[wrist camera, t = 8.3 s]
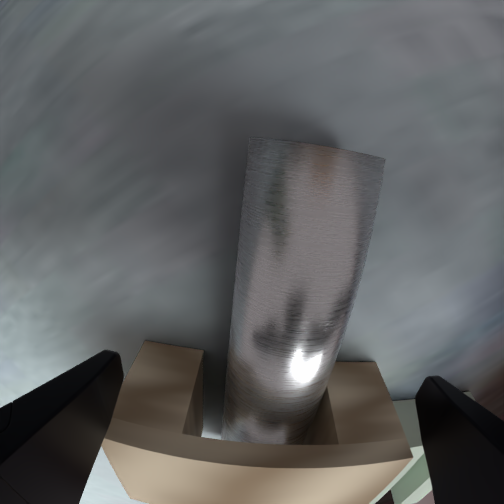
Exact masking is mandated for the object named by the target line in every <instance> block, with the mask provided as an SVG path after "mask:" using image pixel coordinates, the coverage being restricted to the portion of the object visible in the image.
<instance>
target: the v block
mask: <svg viewBox="0 0 504 504" xmlns="http://www.w3.org/2000/svg"><path fill="white" fill-rule="evenodd" d="M463 393H464V394H466V395H467V396H469V397H470V398H471V399H473V400H474V398H473V396H472V395H471V393H470V392H463ZM474 401H475V400H474ZM392 402H393V405H394V407H395V410H396V412H397V415H398V417H399V420H400V422H401V425H402V428H403V430H404V433H405V436H406V438H407V441H408V444H409V446H410V449H411V452H412V455H413V459H412V460H411V461H410V462H409V463H408V464H407V465H406V467H405V468H404V469H403V470H402V471H401V472H400V473H399V474H398V475H397V476H396V477H395V478H394V479H393V481H392V482H391V483H390V484H389V485H388V486H387V487H386V488H385V489H384V490H383V491H382V492H381V493H380V494H379V495H377V496H376V497H375V498H374V499H373V500H372V501H371V502H370V503H369V504H375V503H376V502H377V501H378V500H379V499H380V498H381V497H382V496H383V495H385V494H386V493H387V492H388V491H389V490H390V489H391V492H392V496H393V500H394V504H413V503H416V502H418V501H419V500H421V499H422V498H423V497H424V496H425V495H427V494H428V493H429V492H430V491H431V490H432V485H431V480H430V476H429V471H428V466H427V462H426V458H425V454H424V450H423V445H422V441H421V435H420V428H419V422H418V415H417V410H416V404H415V399H411V400H399V401H392Z"/></svg>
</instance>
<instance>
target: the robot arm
mask: <svg viewBox="0 0 504 504" xmlns="http://www.w3.org/2000/svg"><path fill="white" fill-rule="evenodd" d="M123 377H124V374H123V368H122V363H121V358H120V355H119V353H117V352H114V351H110V350H104V351H102V352H100V353H98V354H96V355H95V356H93V357H91V358H89V359H88V360H86V361H84V362H82V363H80V364H79V365H77V366H75V367H73V368H72V369H70V370H68V371H66V372H64V373H63V374H61V375H59V376H57V377H56V378H54V379H52V380H50V381H48V382H47V383H45V384H43V385H41V386H39V387H38V388H36V389H34V390H32V391H30V392H29V393H27V394H25V395H23V396H21V397H19V398H18V399H16V400H14V401H13V403H12V402H10V403H8V404H7V405H5V406H3V407H1V408H0V504H79V502H80V499H81V496H82V493H83V491H84V488H85V485H86V483H87V480H88V478H89V475H90V472H91V470H92V467H93V465H94V462H95V460H96V457H97V455H98V452H99V450H100V447H101V445H102V442H103V440H104V438H105V435H106V433H107V430H108V428H109V425H110V423H111V419H112V416H113V413H114V409H115V406H116V402H117V399H118V396H119V392H120V389H121V386H122V382H123ZM415 404H416V410H417V415H418V422H419V428H420V435H421V441H422V445H423V450H424V454H425V458H426V462H427V466H428V471H429V476H430V480H431V485H432V490H433V495H434V500H435V504H504V421H503V420H501V419H500V418H498V417H497V416H495V415H494V414H493V413H491V412H490V411H488V410H487V409H486V408H484V407H483V406H481V405H480V404H478V403H477V402H476V401H474V400H473V399H471V398H470V397H469V396H467V395H466V394H464V393H463V392H461V391H460V390H459V389H457V388H456V387H454V386H453V385H451V384H450V383H449V382H447V381H446V380H444V379H443V378H441V377H440V376H428V377H427V378H425V380H424V382H423V383H422V385H421V387H420V389H419V391H418V392H417V394H416V397H415Z"/></svg>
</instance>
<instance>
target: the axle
mask: <svg viewBox="0 0 504 504" xmlns="http://www.w3.org/2000/svg"><path fill="white" fill-rule="evenodd" d="M384 166H385V159H384V158H380V157H376V156H372V155H367V154H363V153H358V152H353V151H348V150H343V149H338V148H332V147H326V146H320V145H314V144H308V143H301V142H294V141H286V140H278V139H268V138H258V137H250V139H249V148H248V157H247V166H246V175H245V185H244V194H243V204H242V213H241V223H240V233H239V243H238V253H237V263H236V274H235V284H234V295H233V306H232V317H231V328H230V339H229V350H228V362H227V374H226V386H225V398H224V411H223V423H222V436H221V440H227V441H236V442H247V443H259V444H277V445H303V443H304V441H305V438H306V436H307V434H308V431H309V429H310V427H311V424H312V422H313V419H314V417H315V415H316V412H317V410H318V407H319V405H320V402H321V400H322V397H323V394H324V392H325V389H326V386H327V384H328V381H329V378H330V376H331V373H332V370H333V367H334V364H335V361H336V359H337V356H338V353H339V350H340V347H341V344H342V341H343V338H344V334H345V331H346V328H347V325H348V322H349V318H350V315H351V312H352V308H353V305H354V301H355V298H356V294H357V291H358V287H359V283H360V279H361V276H362V272H363V268H364V264H365V260H366V256H367V252H368V247H369V243H370V239H371V234H372V230H373V225H374V220H375V215H376V210H377V205H378V200H379V195H380V189H381V184H382V178H383V172H384Z"/></svg>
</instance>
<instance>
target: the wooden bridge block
mask: <svg viewBox="0 0 504 504" xmlns="http://www.w3.org/2000/svg"><path fill="white" fill-rule="evenodd" d="M203 357H204V350H199V349H193V348H186V347H180V346H174V345H168V344H162V343H156V342H151V341H146V340H145V342H144V343H143V345H142V347H141V349H140V351H139V353H138V355H137V357H136V358H135V360H134V362H133V364H132V366H131V368H130V370H129V372H128V374H127V376H126V378H125V380H124V382H123V384H122V386H121V389H120V392H119V396H118V399H117V402H116V406H115V409H114V413H113V416H112V419H111V423H110V425H109V428H108V430H107V433H106V435H105V438H104V440H103V442H102V445H101V446H102V448H103V450H104V452H105V454H106V456H107V458H108V460H109V462H110V464H111V466H112V468H113V469H114V471H115V473H116V475H117V477H118V479H119V480H120V482H121V484H122V486H123V487H124V489H125V491H126V492H127V494H128V496H129V497H130V498H131V499H134V500H138V501H142V502H145V503H149V504H369V503H370V502H371V501H372V500H373V499H374V498H375V497H376V496H377V495H379V494H380V493H381V492H382V491H383V490H384V489H385V488H386V487H387V486H388V485H389V484H390V483H391V482H392V481H393V479H394V478H395V477H396V476H397V475H398V474H399V473H400V472H401V471H402V470H403V469H404V468H405V467H406V465H407V464H408V463H409V462H410V461H411V460H412V459H413V455H412V452H411V449H410V446H409V444H408V441H407V438H406V436H405V433H404V430H403V428H402V425H401V422H400V420H399V417H398V415H397V412H396V410H395V407H394V405H393V402H392V400H391V397H390V395H389V392H388V390H387V387H386V385H385V383H384V380H383V378H382V376H381V373H380V371H379V368H378V366H377V364H376V362H335V364H334V367H333V370H332V373H331V376H330V378H329V381H328V384H327V386H326V389H325V392H324V394H323V397H322V400H321V402H320V405H319V407H318V410H317V412H316V415H315V417H314V419H313V422H312V424H311V427H310V429H309V431H308V434H307V436H306V438H305V441H304V443H303V445H277V444H259V443H247V442H236V441H227V440H219V439H211V438H204V437H201V435H202V430H203Z"/></svg>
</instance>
